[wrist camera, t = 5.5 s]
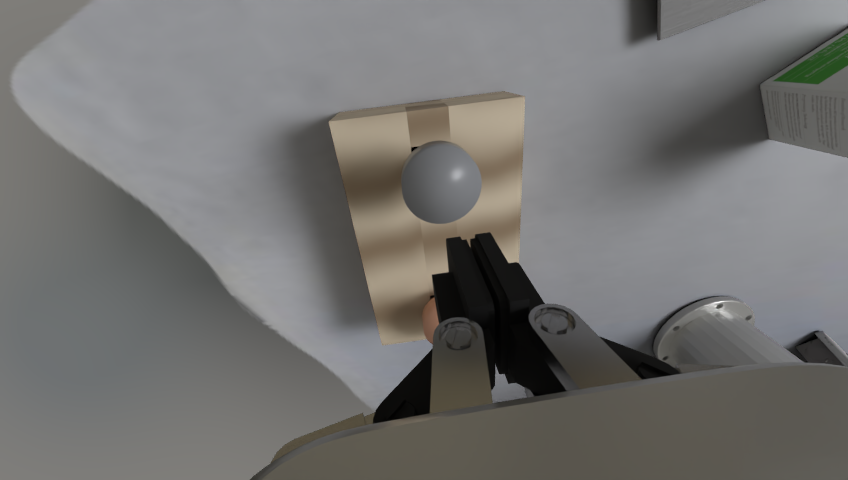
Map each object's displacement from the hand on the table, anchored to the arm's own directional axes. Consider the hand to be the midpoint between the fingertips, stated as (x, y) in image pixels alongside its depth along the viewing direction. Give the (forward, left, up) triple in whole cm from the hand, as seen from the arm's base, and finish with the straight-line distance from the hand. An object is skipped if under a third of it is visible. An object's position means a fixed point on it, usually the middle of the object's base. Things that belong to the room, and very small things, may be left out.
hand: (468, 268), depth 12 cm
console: (-7, 0, -19) cm, 20 cm away
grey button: (0, 0, -15) cm, 15 cm away
